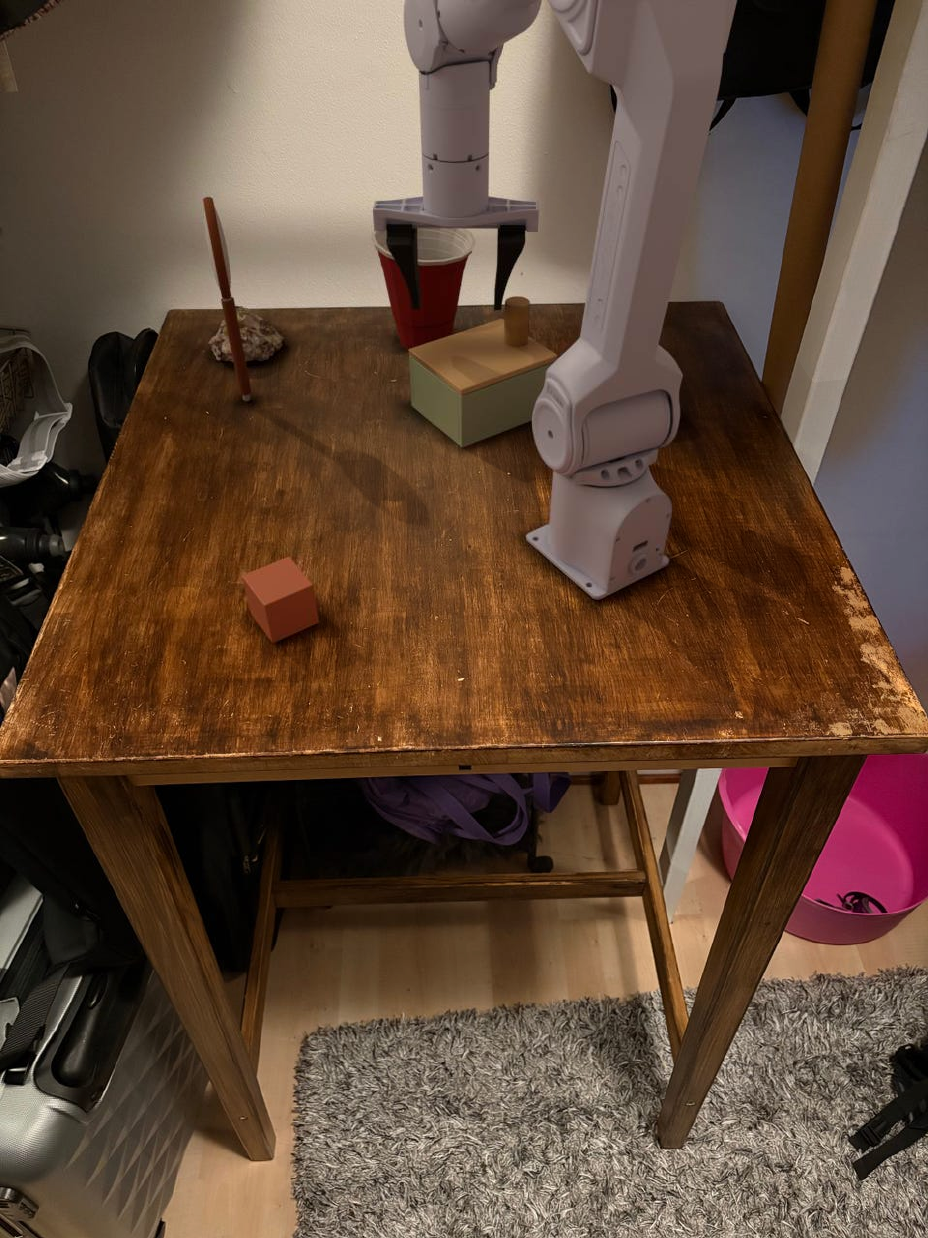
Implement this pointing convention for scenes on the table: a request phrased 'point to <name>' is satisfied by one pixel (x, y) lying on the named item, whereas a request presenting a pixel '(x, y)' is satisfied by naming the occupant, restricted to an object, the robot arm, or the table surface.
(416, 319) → the plastic cup
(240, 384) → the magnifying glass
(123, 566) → the table surface
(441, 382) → the box
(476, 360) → the lid
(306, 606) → the block
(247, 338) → the mineral rock
